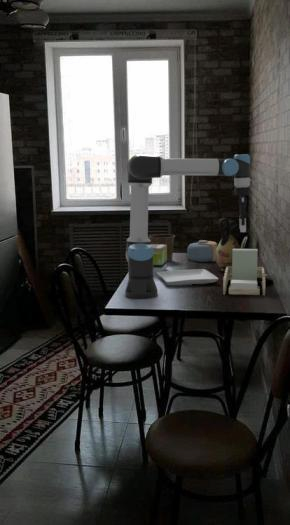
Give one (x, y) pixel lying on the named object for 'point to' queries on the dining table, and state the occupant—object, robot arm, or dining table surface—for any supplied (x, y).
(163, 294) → the dining table surface
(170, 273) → the square plate
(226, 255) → the ceramic jug
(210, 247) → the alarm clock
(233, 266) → the tall panel
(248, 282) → the upper offcut
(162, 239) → the plant pot
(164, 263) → the tea box
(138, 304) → the dining table surface
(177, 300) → the dining table surface
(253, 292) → the lower offcut
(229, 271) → the frame
